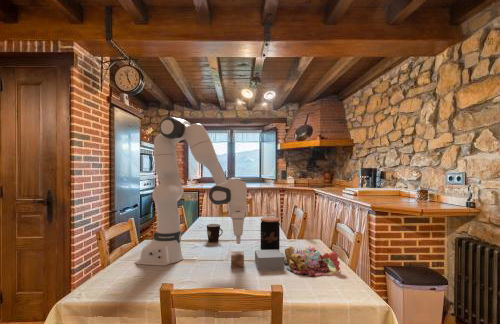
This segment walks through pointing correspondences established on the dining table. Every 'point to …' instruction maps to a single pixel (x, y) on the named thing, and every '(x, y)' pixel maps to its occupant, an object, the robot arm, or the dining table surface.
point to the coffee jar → (270, 233)
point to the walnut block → (237, 259)
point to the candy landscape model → (312, 262)
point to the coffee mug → (213, 232)
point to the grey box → (269, 260)
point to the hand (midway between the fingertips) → (238, 240)
